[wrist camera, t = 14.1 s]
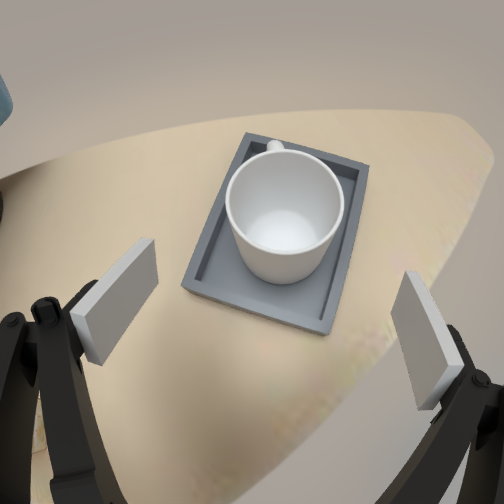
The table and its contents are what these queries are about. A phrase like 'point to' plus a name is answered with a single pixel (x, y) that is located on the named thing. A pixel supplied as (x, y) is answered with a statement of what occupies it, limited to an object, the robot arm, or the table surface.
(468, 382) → the robot arm
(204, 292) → the tray
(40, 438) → the coffeecake box
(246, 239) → the mug
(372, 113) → the table surface
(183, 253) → the table surface
